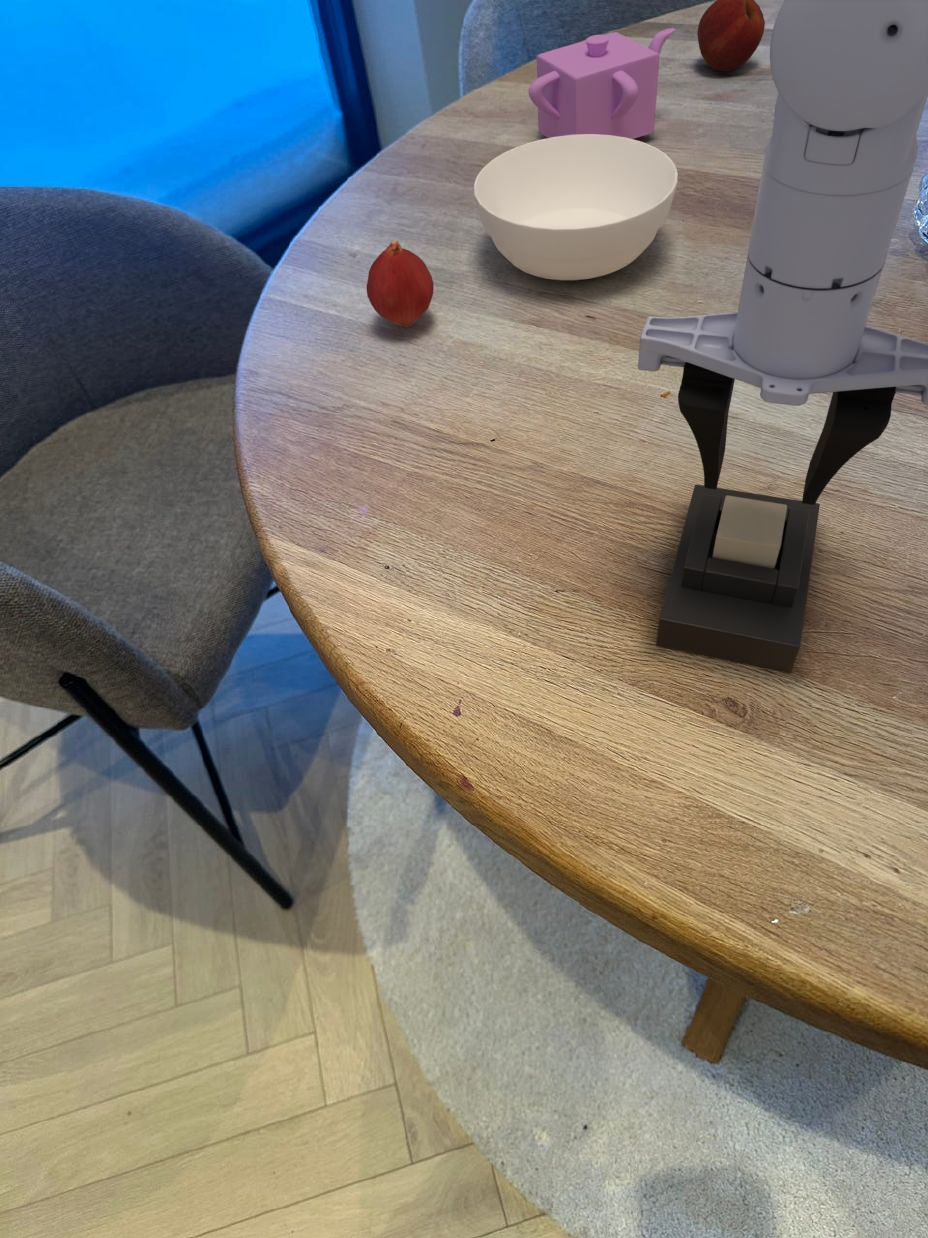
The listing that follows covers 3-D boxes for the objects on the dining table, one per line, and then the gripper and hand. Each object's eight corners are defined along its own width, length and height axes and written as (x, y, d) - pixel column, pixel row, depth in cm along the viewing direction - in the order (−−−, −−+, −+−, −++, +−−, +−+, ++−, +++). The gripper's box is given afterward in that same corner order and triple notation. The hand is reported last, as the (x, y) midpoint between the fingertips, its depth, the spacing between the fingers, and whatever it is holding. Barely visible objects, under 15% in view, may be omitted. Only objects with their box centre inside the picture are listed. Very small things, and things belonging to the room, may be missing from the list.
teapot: (637, 98, 103) (643, -1, 95) (705, 138, 95) (718, 33, 87) (505, 140, 99) (500, 40, 91) (564, 184, 91) (564, 79, 83)
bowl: (711, 246, 80) (721, 167, 75) (575, 331, 74) (576, 252, 68) (572, 191, 90) (572, 117, 84) (441, 262, 84) (432, 187, 78)
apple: (730, 85, 103) (741, 7, 96) (679, 72, 107) (686, -4, 100) (768, 65, 105) (780, -13, 99) (717, 52, 109) (726, -23, 103)
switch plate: (690, 512, 59) (698, 463, 56) (810, 532, 57) (826, 482, 54) (655, 645, 53) (662, 599, 49) (790, 674, 50) (807, 627, 47)
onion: (363, 336, 77) (344, 251, 71) (395, 302, 80) (380, 218, 74) (418, 349, 75) (404, 263, 69) (449, 314, 78) (438, 228, 72)
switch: (721, 517, 53) (725, 494, 52) (781, 527, 52) (787, 504, 51) (712, 558, 51) (716, 536, 50) (774, 569, 50) (780, 547, 49)
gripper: (631, 288, 37) (617, 511, 48) (1001, 323, 33) (896, 558, 44) (663, 209, 41) (644, 431, 52) (997, 232, 37) (901, 468, 48)
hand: (760, 484), depth 48 cm, fingers open, 5 cm apart
